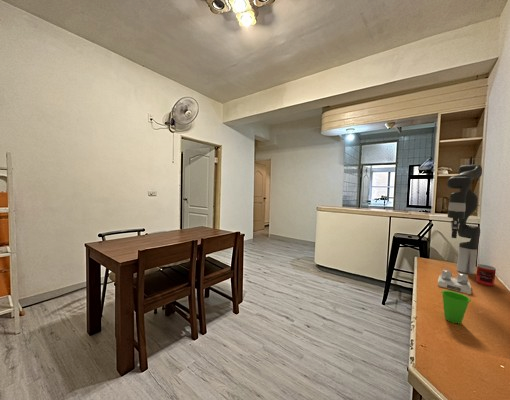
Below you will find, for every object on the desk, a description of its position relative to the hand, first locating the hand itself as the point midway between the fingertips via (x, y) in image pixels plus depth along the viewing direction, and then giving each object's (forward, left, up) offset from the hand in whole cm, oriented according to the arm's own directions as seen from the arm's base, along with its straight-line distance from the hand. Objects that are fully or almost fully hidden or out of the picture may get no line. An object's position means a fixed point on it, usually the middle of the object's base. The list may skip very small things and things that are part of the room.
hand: (453, 236), depth 131 cm
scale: (+5, +2, -28) cm, 29 cm away
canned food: (-16, +16, -29) cm, 37 cm away
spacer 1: (+4, -2, -25) cm, 26 cm away
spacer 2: (+4, +5, -25) cm, 26 cm away
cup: (+54, +2, -29) cm, 61 cm away
